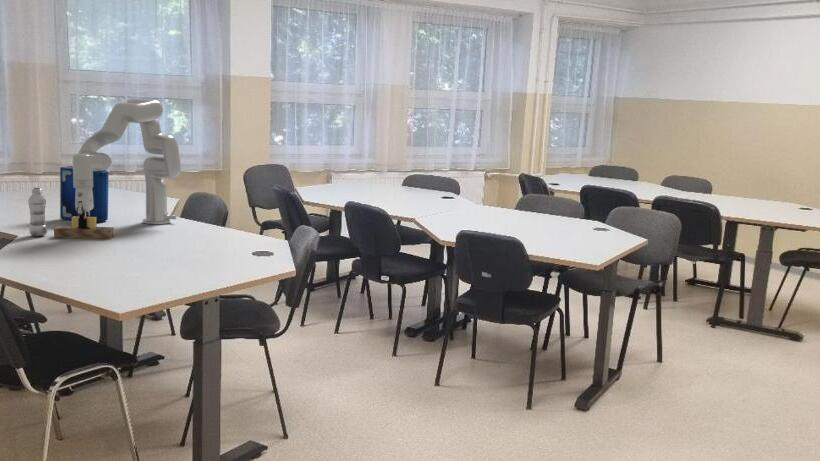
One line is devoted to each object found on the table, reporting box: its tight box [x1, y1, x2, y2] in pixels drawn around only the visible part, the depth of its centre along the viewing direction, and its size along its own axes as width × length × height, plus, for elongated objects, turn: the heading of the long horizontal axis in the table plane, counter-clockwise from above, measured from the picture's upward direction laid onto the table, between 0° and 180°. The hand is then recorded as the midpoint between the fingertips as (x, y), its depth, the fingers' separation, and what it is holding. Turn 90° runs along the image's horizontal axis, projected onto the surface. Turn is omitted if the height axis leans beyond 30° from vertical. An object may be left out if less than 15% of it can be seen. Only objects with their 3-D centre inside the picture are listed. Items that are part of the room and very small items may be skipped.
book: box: [59, 165, 110, 223], centre depth 336 cm, size 22×7×25 cm, turn 84°
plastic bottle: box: [27, 187, 48, 237], centre depth 297 cm, size 6×7×20 cm
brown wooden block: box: [53, 225, 115, 240], centre depth 301 cm, size 22×6×4 cm, turn 99°
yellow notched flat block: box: [71, 216, 98, 229], centre depth 301 cm, size 9×2×8 cm, turn 99°
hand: (84, 226), depth 301 cm, fingers open, 3 cm apart
